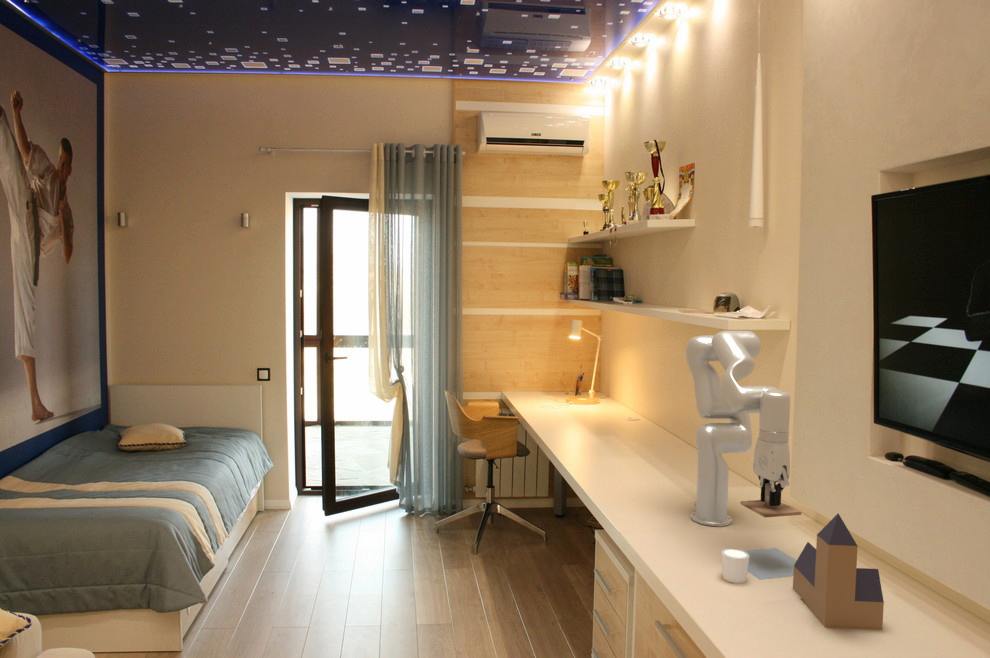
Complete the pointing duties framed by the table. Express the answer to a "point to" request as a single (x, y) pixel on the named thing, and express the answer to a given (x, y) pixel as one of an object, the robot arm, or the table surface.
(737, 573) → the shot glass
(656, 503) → the table surface
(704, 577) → the table surface
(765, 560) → the mat
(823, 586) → the toy building blocks
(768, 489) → the lid
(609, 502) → the table surface
